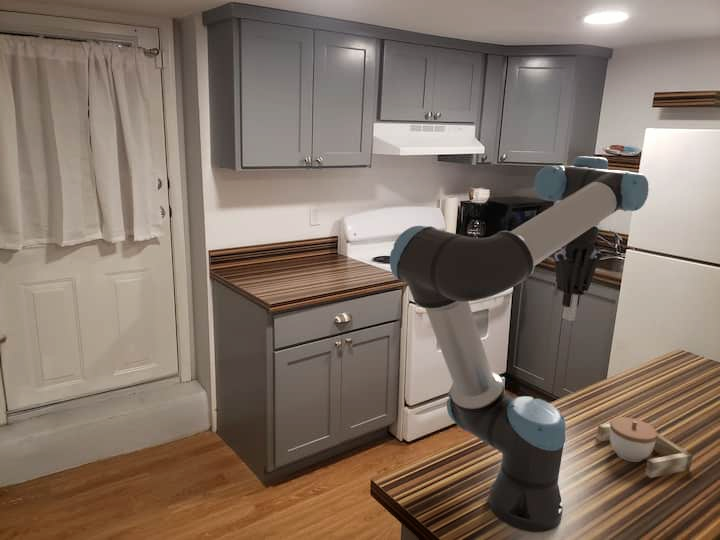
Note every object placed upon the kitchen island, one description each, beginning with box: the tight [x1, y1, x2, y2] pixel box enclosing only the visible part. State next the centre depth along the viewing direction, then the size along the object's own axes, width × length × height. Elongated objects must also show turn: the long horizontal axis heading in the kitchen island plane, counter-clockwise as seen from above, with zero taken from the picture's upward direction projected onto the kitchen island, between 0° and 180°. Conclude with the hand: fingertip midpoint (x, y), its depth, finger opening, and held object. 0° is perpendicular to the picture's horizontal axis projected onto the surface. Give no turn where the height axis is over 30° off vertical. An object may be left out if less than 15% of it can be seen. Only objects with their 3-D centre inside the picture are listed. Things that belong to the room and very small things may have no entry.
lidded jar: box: [609, 416, 659, 463], centre depth 142 cm, size 11×11×9 cm
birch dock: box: [595, 422, 693, 479], centre depth 143 cm, size 12×18×4 cm
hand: (568, 318), depth 138 cm, fingers closed
